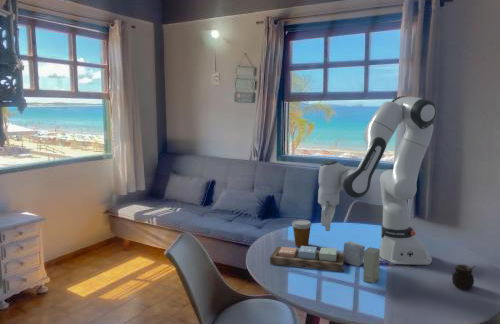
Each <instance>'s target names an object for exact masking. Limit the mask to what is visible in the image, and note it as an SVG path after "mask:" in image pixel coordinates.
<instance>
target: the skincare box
mask: <svg viewBox="0 0 500 324" xmlns="http://www.w3.org/2000/svg"><path fill="white" fill-rule="evenodd" d="M379 253H380V248H375V247H371V246H369V247H367V248H365V250H364V258H363V279H362V281H364V282H366V283H367V282H368V283H372V284H374V283H376V282H377V281H378V280H379V279H380V257H379Z"/></svg>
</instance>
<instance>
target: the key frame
mask: <svg viewBox="0 0 500 324" xmlns="http://www.w3.org/2000/svg"><path fill="white" fill-rule="evenodd" d="M281 247H282V246H277V247H275V249H274V251H273V253H272V254H271V255H270V257H269V260H270V261H269V264H270V265H277V266H278V265H280V266H288V267H298V268H306V269H315V270H316V269H317V270H325V271H333V272H343V270H344V265H345V264H344V263H345V262H344V256H343V252H338V251H337V258H336V262H335V261H325V260H319V252H320V250H317V254H316V257H315V259H305V258H298V251H299V249H300V248H297V255H296V257H295V258H290V257H280V256H278V252H279V251H280V249H281Z"/></svg>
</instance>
